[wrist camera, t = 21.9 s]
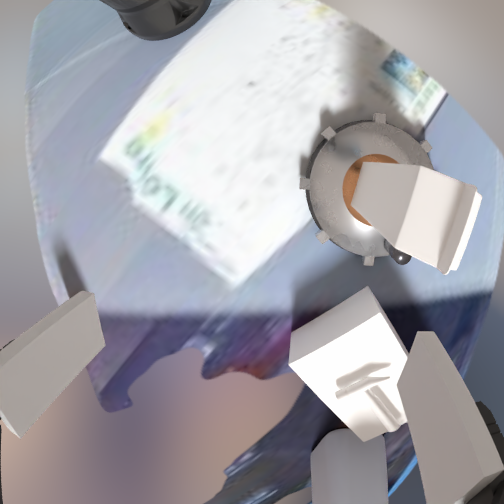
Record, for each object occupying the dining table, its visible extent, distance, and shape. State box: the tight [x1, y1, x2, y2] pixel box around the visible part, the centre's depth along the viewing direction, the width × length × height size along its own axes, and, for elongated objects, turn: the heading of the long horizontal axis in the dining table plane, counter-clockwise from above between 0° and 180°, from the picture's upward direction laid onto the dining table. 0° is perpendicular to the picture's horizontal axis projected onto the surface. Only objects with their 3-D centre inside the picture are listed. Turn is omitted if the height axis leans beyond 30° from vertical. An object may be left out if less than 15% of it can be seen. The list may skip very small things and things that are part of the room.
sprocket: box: [300, 113, 434, 266], centre depth 33 cm, size 20×20×7 cm
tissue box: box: [289, 286, 409, 442], centre depth 41 cm, size 14×25×11 cm, turn 39°
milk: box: [351, 162, 482, 275], centre depth 24 cm, size 6×6×22 cm
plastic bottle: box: [311, 428, 388, 504], centre depth 41 cm, size 15×15×28 cm
